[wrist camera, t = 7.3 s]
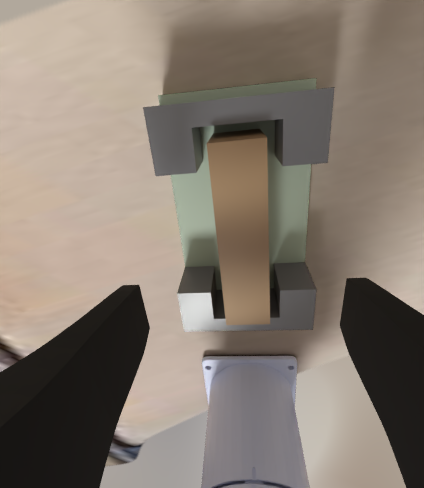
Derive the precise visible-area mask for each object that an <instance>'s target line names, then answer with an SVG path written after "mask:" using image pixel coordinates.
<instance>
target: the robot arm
mask: <svg viewBox="0 0 424 488" xmlns="http://www.w3.org/2000/svg"><path fill="white" fill-rule="evenodd" d="M340 327H341V331H342V334H343V337H344V340H345V343H346V346H347V349H348V352H349V355H350V357H351V359H352V361H353V363H354V365H355V368H356V370H357V372H358V374H359V376H360V378H361V380H362V382H363V384H364V387H365V389H366V391H367V393H368V395H369V397H370V399H371V401H372V403H373V405H374V407H375V409H376V412H377V414H378V416H379V418H380V420H381V422H382V425H383V427H384V429H385V431H386V434H387V436H388V439H389V441H390V444H391V447H392V449H393V452H394V455H395V458H396V460H397V463H398V466H399V468H400V471H401V474H402V476H403V479H404V482H405V485H406V488H424V315H423V314H421V313H420V312H418V311H416V310H415V309H413V308H412V307H410V306H409V305H407V304H406V303H404V302H403V301H401V300H400V299H398V298H397V297H395V296H394V295H392V294H391V293H389V292H388V291H386V290H385V289H383V288H382V287H380V286H379V285H377V284H375V283H374V282H372V281H371V280H369V279H367V278H347V280H346V287H345V294H344V300H343V307H342V314H341V321H340ZM149 329H150V327H149V323H148V319H147V315H146V311H145V307H144V303H143V299H142V295H141V291H140V287H139V285H123V286H121V287H120V288H119V289H117V290H116V291H115V292H113V293H112V294H111V295H109V296H108V297H107V298H106V299H104V300H103V301H102V302H101V303H99V304H98V305H97V306H96V307H94V308H93V309H92V310H90V311H89V312H88V313H87V314H85V315H84V316H83V317H82V318H80V319H79V320H78V321H76V322H75V323H74V324H72V325H71V326H70V327H68V328H67V329H65V330H64V331H63V332H61V333H60V334H59V335H57V336H56V337H54V338H53V339H52V340H50V341H49V342H48V343H46V344H45V345H43V346H42V347H40V348H39V349H37V350H36V351H34V352H33V353H31V354H29V355H28V356H26V357H25V358H23V359H22V360H20V361H18V362H17V363H15V364H14V365H12V366H10V367H9V368H7V369H5V370H3V371H2V372H0V488H99V487H100V483H101V479H102V475H103V471H104V468H105V464H106V460H107V457H108V453H109V450H110V446H111V443H112V439H113V436H114V432H115V429H116V426H117V423H118V420H119V417H120V415H121V412H122V409H123V407H124V404H125V402H126V399H127V396H128V394H129V391H130V389H131V386H132V383H133V381H134V378H135V376H136V373H137V370H138V368H139V365H140V362H141V360H142V357H143V354H144V350H145V346H146V342H147V338H148V334H149ZM202 367H203V374H204V380H205V386H206V393H207V399H208V406H209V407H208V418H207V430H206V441H205V452H204V463H203V474H202V486H201V488H310V486H309V481H308V476H307V471H306V465H305V460H304V455H303V449H302V444H301V439H300V434H299V428H298V423H297V418H296V413H295V393H296V392H295V391H296V376H297V360H296V358H295V357H293V356H207V357H204V358H203V359H202Z"/></svg>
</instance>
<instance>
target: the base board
mask: <svg viewBox="0 0 424 488" xmlns="http://www.w3.org/2000/svg"><path fill="white" fill-rule="evenodd" d="M313 89H316V78H312V79H303V80H294V81H284V82H275V83H266V84H257V85H248V86H239V87H230V88H221V89H212V90H202V91H193V92H184V93H175V94H166V95H158V98H159V105H160V106H161V105H171V104H180V103H190V102H199V101H209V100H218V99H228V98H237V97H247V96H256V95H266V94H275V93H285V92H294V91H304V90H313ZM250 129H261V131H262V132H263V133H264V134H265V135H266V137H267V160H268V220H269V280H270V288H274V263H297V262H305V253H306V237H307V221H308V206H309V190H310V174H311V164H306V165H293V166H282V165H281V163H280V162H279V161H278V159H277V158H276V156H275V120H267V121H257V122H246V123H236V124H226V125H215V126H205V127H200V135H201V145H202V155H203V162H202V164H201V166H200V168H199V169H198V171H197V173H190V174H177V175H171V180H172V186H173V193H174V199H175V205H176V212H177V218H178V224H179V230H180V237H181V243H182V249H183V256H184V262H185V267H199V266H214V269H215V278H216V288H217V290H222V282H221V272H220V263H219V254H218V245H217V235H216V226H215V217H214V208H213V199H212V189H211V180H210V171H209V162H208V152H207V142H208V141H209V139H210V138H211V136H212V135H213V133H222V132H231V131H241V130H250Z"/></svg>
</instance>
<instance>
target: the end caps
mask: <svg viewBox="0 0 424 488" xmlns="http://www.w3.org/2000/svg"><path fill="white" fill-rule="evenodd" d="M333 97H334V87H332V88H322V89H313V90H304V91H294V92H285V93H275V94H266V95H256V96H247V97H237V98H228V99H218V100H209V101H199V102H190V103H180V104H171V105H161V106H152V107H143V109H144V115H145V120H146V126H147V131H148V137H149V142H150V147H151V153H152V158H153V164H154V169H155V175H156V176H164V175H177V174H190V173H197V171H198V169H199V168H200V166H201V164H202V162H203V155H202V145H201V135H200V127H205V126H215V125H226V124H236V123H246V122H257V121H267V120H275V156H276V158H277V159H278V161H279V162H280V163H281V165H282V166H293V165H306V164H319V163H328V154H329V142H330V131H331V120H332V108H333ZM177 295H178V300H179V306H180V311H181V317H182V322H183V328H184V332H190V331H256V330H313V323H314V312H315V301H316V287H315V285H314V282H313V280H312V278H311V275H310V273H309V271H308V268H307V266H306V263H305V262H297V263H274V288H270V324H255V325H226V319H225V309H224V300H223V291H222V290H217V288H216V278H215V269H214V266H199V267H185V270H184V273H183V276H182V280H181V283H180V286H179V290H178V293H177Z"/></svg>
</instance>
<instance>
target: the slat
mask: <svg viewBox="0 0 424 488" xmlns="http://www.w3.org/2000/svg"><path fill="white" fill-rule="evenodd" d="M207 152H208V162H209V171H210V180H211V189H212V199H213V208H214V217H215V226H216V235H217V245H218V254H219V263H220V272H221V282H222V291H223V300H224V309H225V319H226V325H255V324H270V280H269V220H268V160H267V137H266V135H265V134H264V133H263V132H262V131H261V129H250V130H241V131H231V132H222V133H213V135H212V136H211V138H210V139H209V141H208V142H207Z"/></svg>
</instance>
